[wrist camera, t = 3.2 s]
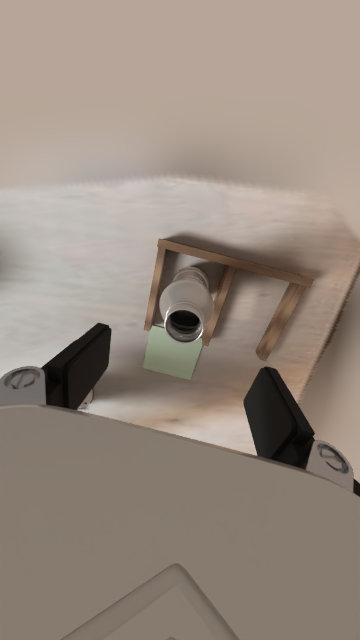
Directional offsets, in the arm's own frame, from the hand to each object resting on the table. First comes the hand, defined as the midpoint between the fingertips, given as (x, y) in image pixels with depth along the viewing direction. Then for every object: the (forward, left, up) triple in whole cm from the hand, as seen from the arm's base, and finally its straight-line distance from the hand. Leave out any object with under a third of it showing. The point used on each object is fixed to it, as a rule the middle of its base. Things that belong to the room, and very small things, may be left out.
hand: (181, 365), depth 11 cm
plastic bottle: (0, 0, -26) cm, 26 cm away
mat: (-17, 0, -26) cm, 31 cm away
